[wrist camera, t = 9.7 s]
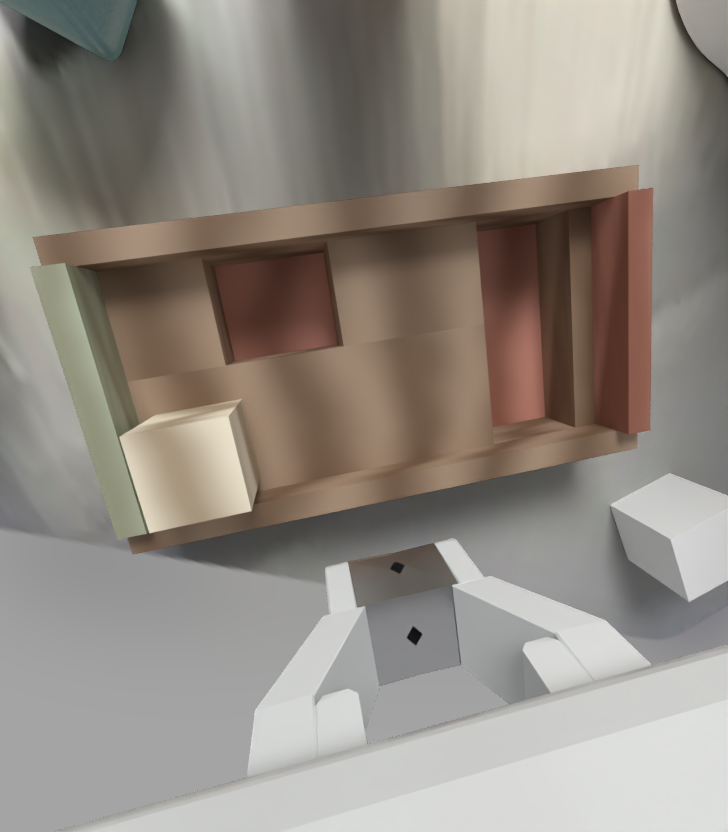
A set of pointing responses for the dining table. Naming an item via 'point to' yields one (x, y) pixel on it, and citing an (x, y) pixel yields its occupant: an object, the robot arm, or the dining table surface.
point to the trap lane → (366, 338)
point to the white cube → (676, 534)
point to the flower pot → (83, 21)
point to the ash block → (193, 465)
